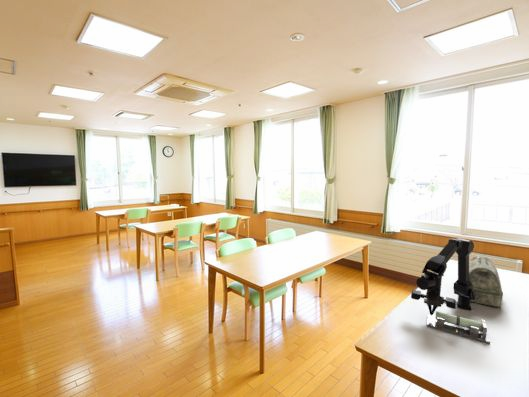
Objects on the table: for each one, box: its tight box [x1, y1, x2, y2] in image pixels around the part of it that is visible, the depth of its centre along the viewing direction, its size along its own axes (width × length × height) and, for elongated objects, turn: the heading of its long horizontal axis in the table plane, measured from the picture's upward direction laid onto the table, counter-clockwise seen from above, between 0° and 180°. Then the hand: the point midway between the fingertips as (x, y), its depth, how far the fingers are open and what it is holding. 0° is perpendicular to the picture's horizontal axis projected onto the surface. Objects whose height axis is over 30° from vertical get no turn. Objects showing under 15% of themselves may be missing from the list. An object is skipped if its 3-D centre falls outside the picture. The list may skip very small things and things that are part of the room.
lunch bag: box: [469, 255, 504, 308], centre depth 161 cm, size 26×18×22 cm
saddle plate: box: [426, 311, 491, 345], centre depth 131 cm, size 12×24×6 cm, turn 56°
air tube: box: [435, 310, 482, 332], centre depth 130 cm, size 4×18×4 cm, turn 57°
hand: (431, 314), depth 136 cm, fingers closed
